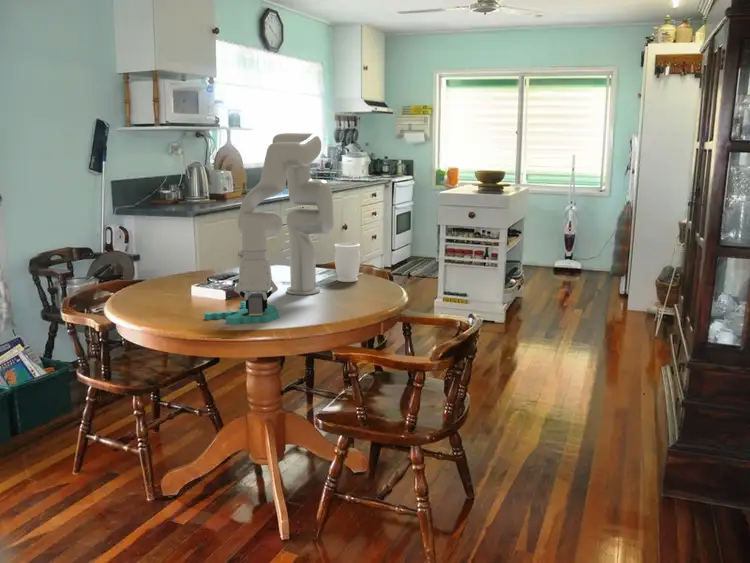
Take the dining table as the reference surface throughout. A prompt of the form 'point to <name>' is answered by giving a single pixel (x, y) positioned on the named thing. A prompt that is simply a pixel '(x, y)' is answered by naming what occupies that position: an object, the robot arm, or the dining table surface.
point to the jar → (347, 261)
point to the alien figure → (245, 315)
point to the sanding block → (255, 304)
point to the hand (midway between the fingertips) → (256, 310)
